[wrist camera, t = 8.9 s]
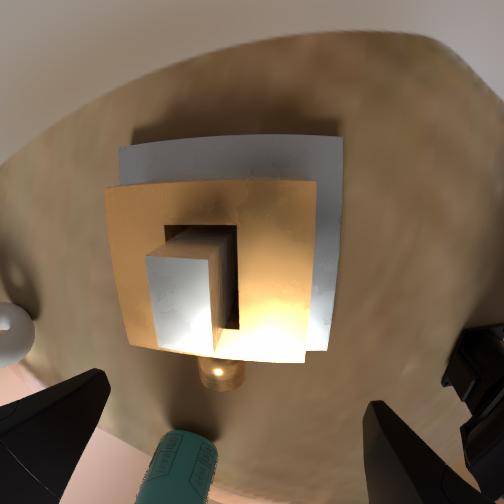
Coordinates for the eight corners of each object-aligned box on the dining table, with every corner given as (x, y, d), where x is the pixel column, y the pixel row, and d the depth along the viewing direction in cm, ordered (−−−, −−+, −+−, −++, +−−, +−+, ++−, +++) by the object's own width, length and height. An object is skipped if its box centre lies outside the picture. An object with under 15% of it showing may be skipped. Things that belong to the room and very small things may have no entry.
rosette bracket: (338, 139, 16) (363, 125, 10) (323, 349, 20) (331, 405, 14) (130, 148, 17) (75, 145, 12) (151, 335, 22) (117, 380, 16)
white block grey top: (246, 215, 18) (208, 259, 9) (246, 273, 19) (213, 355, 10) (210, 214, 18) (144, 255, 10) (211, 271, 19) (158, 346, 11)
